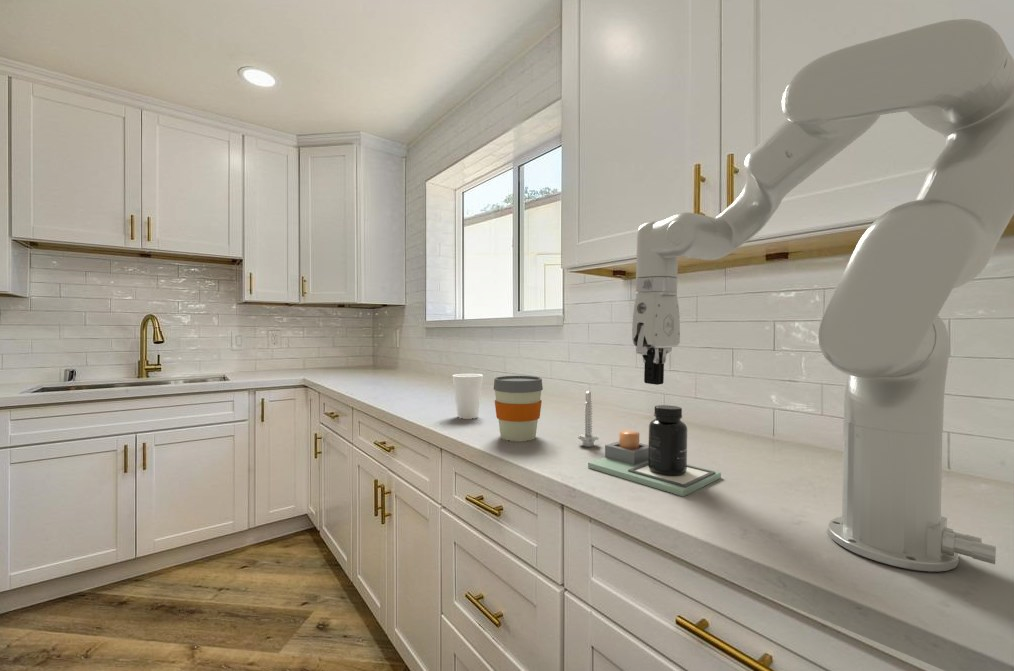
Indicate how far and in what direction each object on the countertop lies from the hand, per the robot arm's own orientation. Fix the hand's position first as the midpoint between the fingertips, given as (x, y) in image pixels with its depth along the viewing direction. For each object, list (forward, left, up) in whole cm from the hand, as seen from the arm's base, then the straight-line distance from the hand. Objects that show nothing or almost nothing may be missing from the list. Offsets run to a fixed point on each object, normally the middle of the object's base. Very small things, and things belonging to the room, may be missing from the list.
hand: (653, 383), depth 86 cm
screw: (+20, -5, -17) cm, 27 cm away
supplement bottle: (-3, +1, -16) cm, 17 cm away
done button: (+6, -1, -15) cm, 16 cm away
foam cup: (+66, -3, -17) cm, 69 cm away
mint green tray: (0, +1, -17) cm, 17 cm away
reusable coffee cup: (+37, +2, -17) cm, 41 cm away
